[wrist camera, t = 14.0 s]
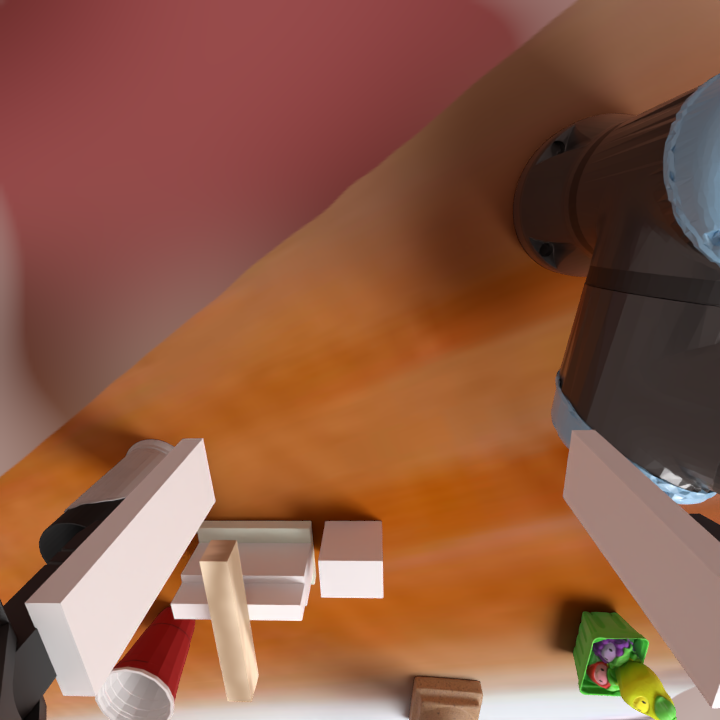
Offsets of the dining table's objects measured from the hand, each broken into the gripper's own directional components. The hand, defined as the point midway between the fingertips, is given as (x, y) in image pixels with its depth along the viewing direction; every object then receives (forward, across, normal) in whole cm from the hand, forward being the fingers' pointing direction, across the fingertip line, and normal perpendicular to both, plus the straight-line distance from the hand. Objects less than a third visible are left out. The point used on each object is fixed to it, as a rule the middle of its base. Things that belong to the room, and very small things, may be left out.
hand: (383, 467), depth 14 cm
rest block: (+32, -5, -33) cm, 47 cm away
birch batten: (+22, -19, -35) cm, 46 cm away
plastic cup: (+32, -34, -49) cm, 68 cm away
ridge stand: (+32, -19, -35) cm, 51 cm away
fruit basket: (+33, +32, -52) cm, 69 cm away
